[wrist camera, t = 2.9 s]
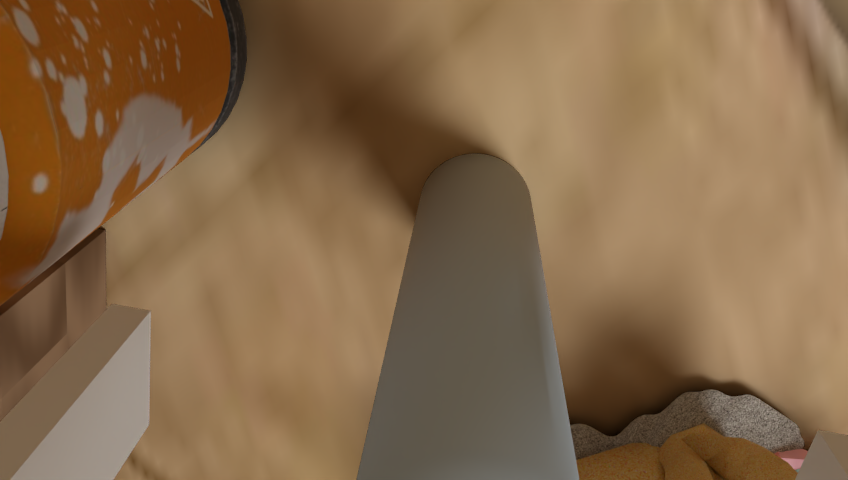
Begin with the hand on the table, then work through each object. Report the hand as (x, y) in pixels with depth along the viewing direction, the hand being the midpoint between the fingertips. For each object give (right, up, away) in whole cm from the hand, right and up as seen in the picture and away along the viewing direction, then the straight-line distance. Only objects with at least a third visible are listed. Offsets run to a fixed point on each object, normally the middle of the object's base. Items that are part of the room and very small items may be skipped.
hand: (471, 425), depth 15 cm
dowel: (+1, +5, +12) cm, 13 cm away
